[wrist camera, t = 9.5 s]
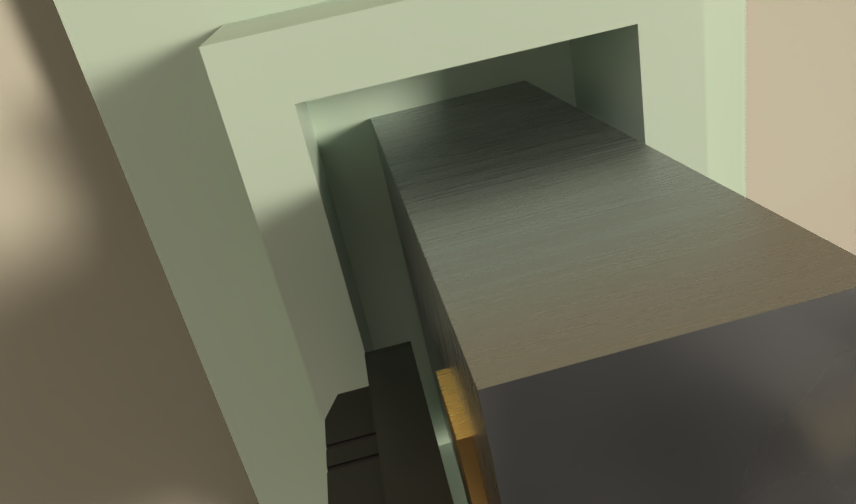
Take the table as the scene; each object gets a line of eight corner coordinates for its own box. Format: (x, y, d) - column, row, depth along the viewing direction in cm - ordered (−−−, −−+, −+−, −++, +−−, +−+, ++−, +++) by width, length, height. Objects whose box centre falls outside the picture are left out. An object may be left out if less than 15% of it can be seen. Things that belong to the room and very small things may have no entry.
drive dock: (32, -103, 11) (-94, -127, 8) (713, -245, 12) (885, -327, 9) (297, 565, 18) (295, 718, 15) (724, 446, 19) (823, 563, 15)
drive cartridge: (362, 119, 13) (455, 395, 5) (524, 80, 13) (895, 276, 5) (437, 419, 16) (577, 921, 7) (569, 383, 16) (850, 834, 8)
